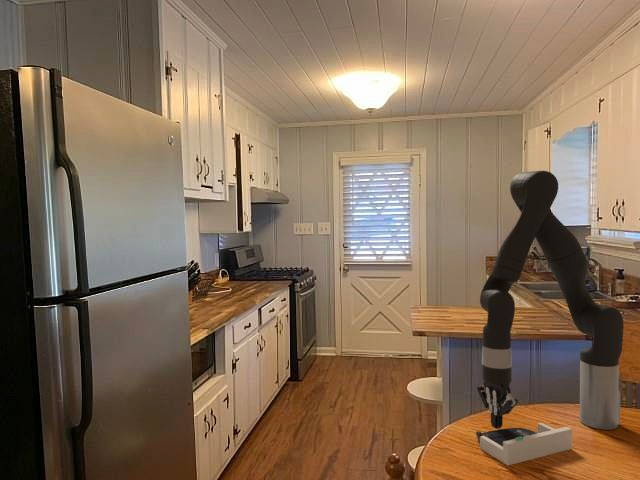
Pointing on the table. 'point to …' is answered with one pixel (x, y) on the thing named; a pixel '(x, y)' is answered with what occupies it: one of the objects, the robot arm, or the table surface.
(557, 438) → the charging dock
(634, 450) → the table surface
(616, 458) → the table surface
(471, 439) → the table surface
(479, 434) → the electronic device
